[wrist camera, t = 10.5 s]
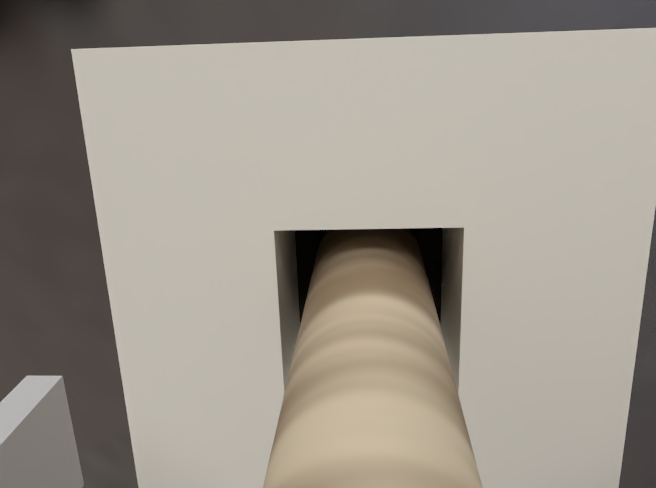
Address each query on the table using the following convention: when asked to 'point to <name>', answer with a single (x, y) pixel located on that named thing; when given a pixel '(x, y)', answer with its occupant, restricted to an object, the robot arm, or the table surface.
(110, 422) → the table surface
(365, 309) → the dowel
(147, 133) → the socket block
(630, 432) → the table surface
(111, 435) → the table surface
